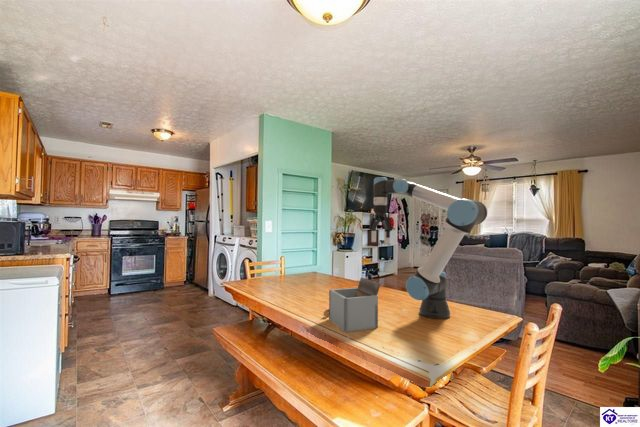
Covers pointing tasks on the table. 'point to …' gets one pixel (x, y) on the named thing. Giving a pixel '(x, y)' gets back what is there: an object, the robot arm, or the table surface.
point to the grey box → (352, 310)
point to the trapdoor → (367, 288)
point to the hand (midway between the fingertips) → (380, 242)
